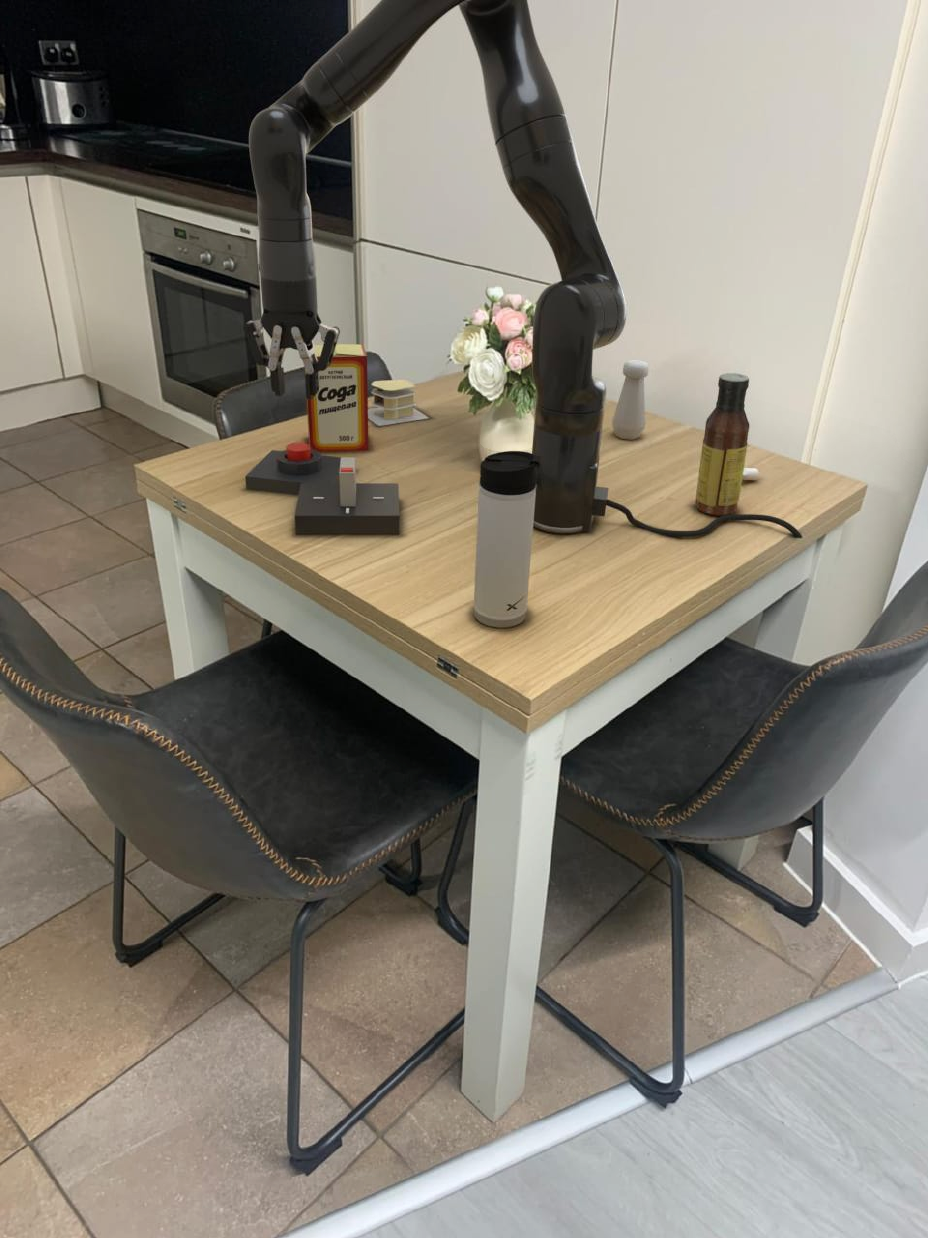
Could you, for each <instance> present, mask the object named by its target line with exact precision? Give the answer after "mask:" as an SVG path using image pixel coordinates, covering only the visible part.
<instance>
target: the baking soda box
mask: <svg viewBox="0 0 928 1238" xmlns="http://www.w3.org/2000/svg"><path fill="white" fill-rule="evenodd" d="M314 345H315V349H316V356H317V360H318V361H319V359H320V355H321V352H322V348H323V344H314ZM367 354H368V353H367V352H366V349H365V346H364V344H352V343H351V344H346V343H345V344H344V343H337V344H336V348H335V351H334V355H333V358H332V361H331V364H330V366H329V367H327V368H326V369H325V370H324V371H319V372H318V376H319V391H318V393H317V394H316V395H315V397H314V398H313V399H307V398H306V412H307V414H306V415H307V432H308V433H307V434H308V444H309V445H310V446H311V449H313V450H316V451H318V452H319V453H324V452H325V453H326V452H356V451H358V452H359V451H369V450H370V449H369V448H370V447H369V419H368V409H369V399H368V397H369V391H368V388H369V387H368V385H369V384H368V355H367ZM306 373H307V372H306V370H305V369H304V375H305V374H306Z"/></svg>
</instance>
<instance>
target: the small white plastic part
mask: <svg viewBox="0 0 928 1238" xmlns="http://www.w3.org/2000/svg"><path fill="white" fill-rule="evenodd" d="M759 477H760V472H759V470H758V469H757V468H754V467H745V465H744V471H743V477H742V481H743V480H744V481H756V480H757V479H759Z"/></svg>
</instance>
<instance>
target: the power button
mask: <svg viewBox="0 0 928 1238" xmlns="http://www.w3.org/2000/svg"><path fill="white" fill-rule="evenodd" d="M285 450H286V451H287V459H288V460H291V461H306V460H308V459H311V446H310V445H309V443H306V442H293V443H289V444H287V446H286V447H285Z"/></svg>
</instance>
